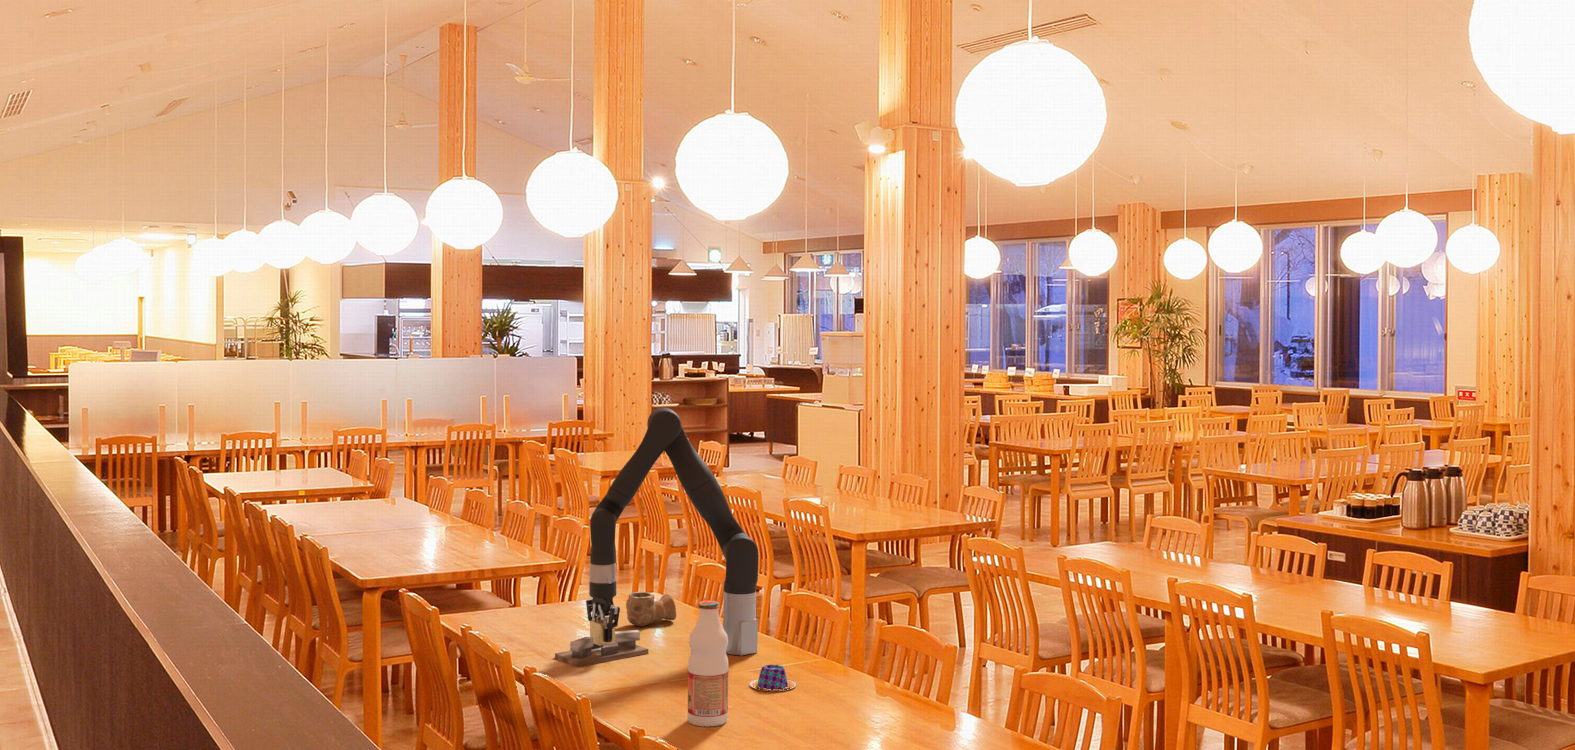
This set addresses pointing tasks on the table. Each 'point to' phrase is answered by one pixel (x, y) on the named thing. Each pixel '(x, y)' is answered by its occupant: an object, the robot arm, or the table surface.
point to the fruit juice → (708, 669)
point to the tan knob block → (600, 632)
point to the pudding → (772, 678)
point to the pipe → (649, 608)
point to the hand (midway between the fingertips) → (602, 639)
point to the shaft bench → (602, 649)
